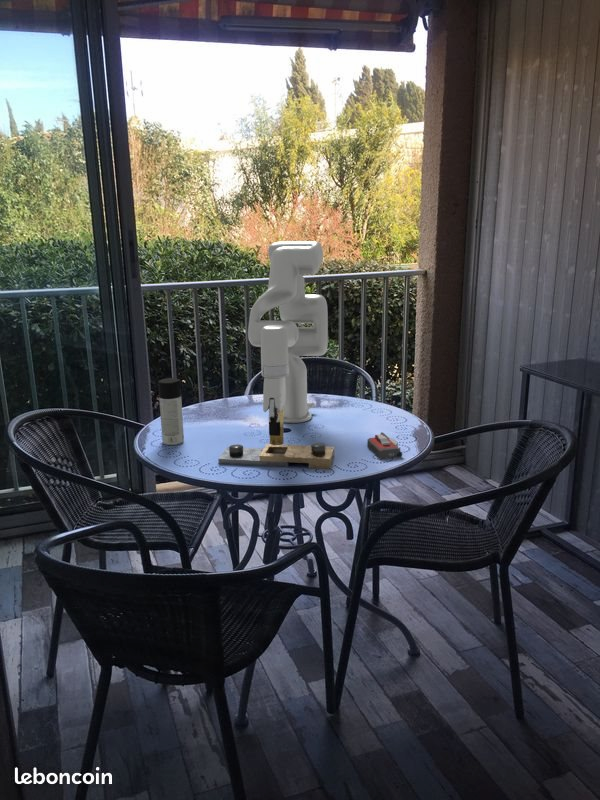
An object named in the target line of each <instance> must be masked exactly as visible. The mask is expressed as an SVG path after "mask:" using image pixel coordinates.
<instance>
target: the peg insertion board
mask: <svg viewBox="0 0 600 800" xmlns="http://www.w3.org/2000/svg"><path fill="white" fill-rule="evenodd" d="M334 459H335V447H334V446H328V445H325V443H322V442H317V443H312V444H311V445H303V444H297V445H296V444H282V445H271V444H270V443H266V444H265V446H264V448H259V447H244V446H243V445H242V444H231V445H229V446H227V447H226V448H225V450H224V451H223V452H222V453H221V455H220V456H219V458H218V465H233V464H234V466H235V465H236V466H237V465H238V466H259V467H279V468H288V467H289V465H290V464H291V463H295V464H296V463H298V464H300V463H301V464H308V469H316V470H317V469H318V470H319V469H320V470H331V468H332V465H333V461H334Z"/></svg>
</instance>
